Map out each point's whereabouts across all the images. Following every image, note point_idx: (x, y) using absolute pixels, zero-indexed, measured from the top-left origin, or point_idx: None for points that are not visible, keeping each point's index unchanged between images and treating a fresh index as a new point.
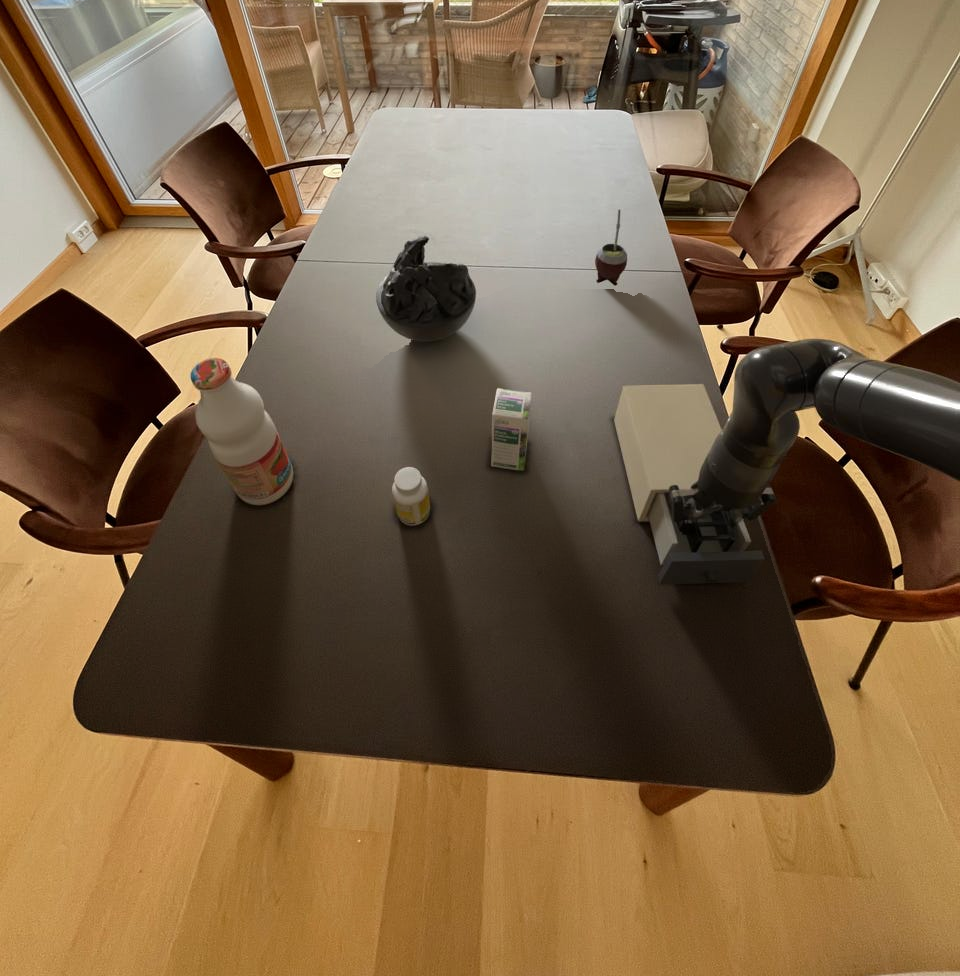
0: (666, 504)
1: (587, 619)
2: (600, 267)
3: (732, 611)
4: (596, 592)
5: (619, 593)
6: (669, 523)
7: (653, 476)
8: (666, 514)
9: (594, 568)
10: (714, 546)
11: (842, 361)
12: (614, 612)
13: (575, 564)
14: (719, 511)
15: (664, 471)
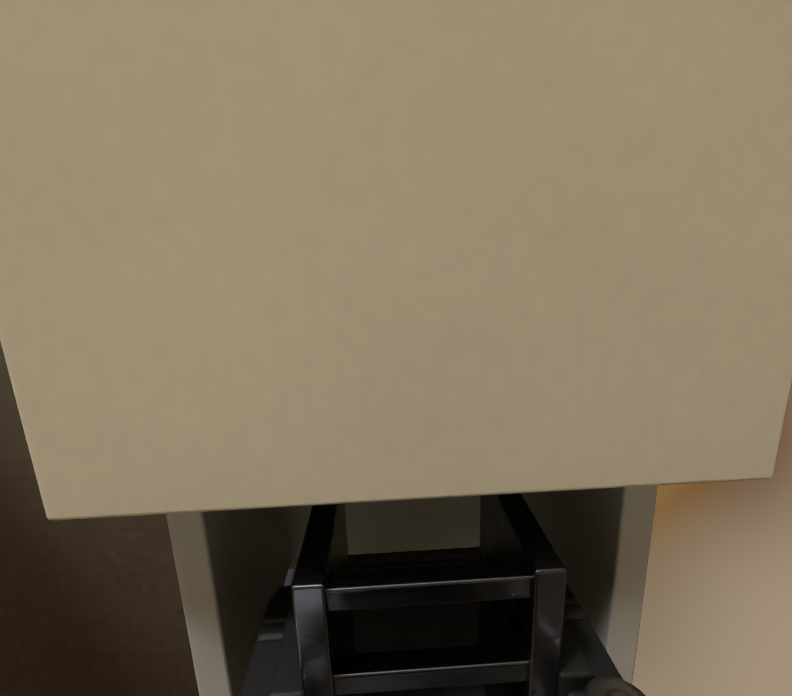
0: (201, 552)
1: (55, 660)
2: None
3: None
4: (79, 595)
5: (152, 595)
6: (206, 654)
7: (66, 408)
8: (193, 610)
9: (70, 531)
10: (477, 498)
11: None
12: (135, 640)
13: (3, 521)
14: (516, 678)
15: (170, 357)
